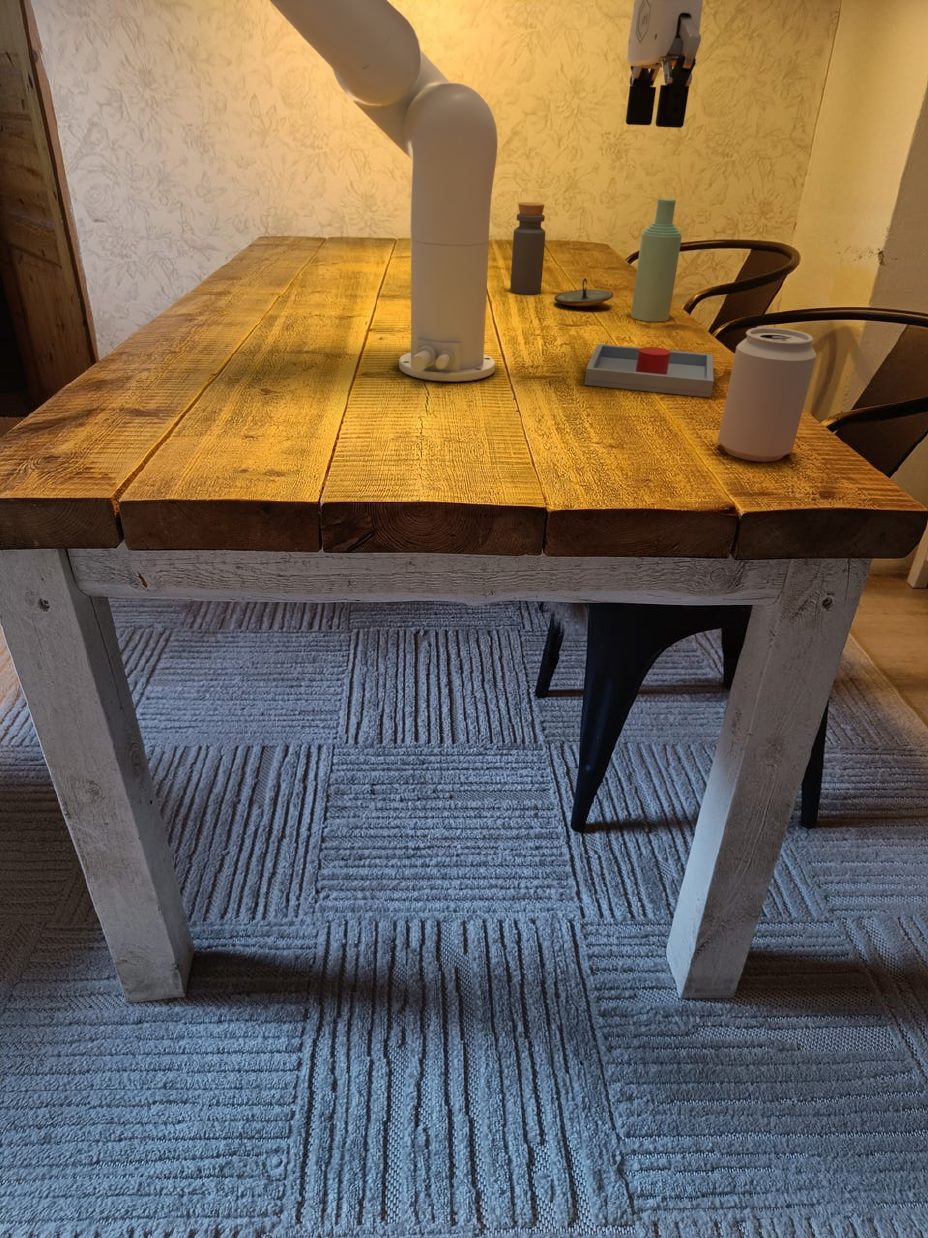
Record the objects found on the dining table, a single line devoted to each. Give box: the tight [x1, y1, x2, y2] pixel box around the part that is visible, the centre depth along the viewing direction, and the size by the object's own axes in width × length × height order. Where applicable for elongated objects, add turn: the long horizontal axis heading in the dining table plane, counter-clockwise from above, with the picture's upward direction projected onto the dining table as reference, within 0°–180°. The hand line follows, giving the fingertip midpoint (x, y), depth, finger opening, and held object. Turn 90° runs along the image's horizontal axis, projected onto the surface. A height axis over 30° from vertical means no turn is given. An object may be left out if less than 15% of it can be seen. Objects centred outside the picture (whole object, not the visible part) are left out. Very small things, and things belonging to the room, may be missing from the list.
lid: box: [553, 277, 614, 308], centre depth 147 cm, size 11×10×5 cm
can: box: [717, 326, 818, 463], centre depth 83 cm, size 8×8×12 cm
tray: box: [584, 343, 715, 399], centre depth 109 cm, size 14×16×2 cm
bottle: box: [509, 201, 546, 296], centre depth 153 cm, size 6×6×15 cm
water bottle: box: [630, 198, 683, 323], centre depth 137 cm, size 6×6×18 cm
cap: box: [636, 346, 671, 375], centre depth 108 cm, size 4×4×3 cm
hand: (653, 125), depth 99 cm, fingers open, 9 cm apart
